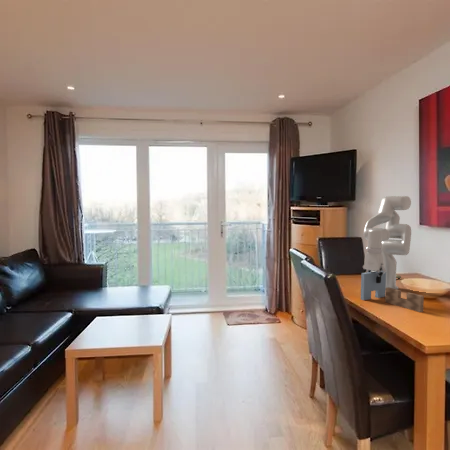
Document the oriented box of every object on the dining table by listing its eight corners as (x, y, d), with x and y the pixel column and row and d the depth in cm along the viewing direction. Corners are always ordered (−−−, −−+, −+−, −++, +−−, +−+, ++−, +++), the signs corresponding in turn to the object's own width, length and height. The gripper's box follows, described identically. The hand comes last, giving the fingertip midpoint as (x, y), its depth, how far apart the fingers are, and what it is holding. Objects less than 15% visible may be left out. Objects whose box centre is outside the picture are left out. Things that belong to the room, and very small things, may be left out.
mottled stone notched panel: (385, 302, 186) (385, 287, 186) (388, 301, 187) (388, 287, 187) (420, 312, 168) (420, 296, 168) (423, 311, 170) (423, 296, 169)
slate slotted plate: (363, 300, 190) (364, 273, 189) (360, 299, 192) (361, 273, 191) (385, 296, 198) (386, 271, 197) (382, 295, 200) (383, 270, 199)
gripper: (357, 249, 199) (357, 279, 200) (383, 253, 184) (382, 285, 185) (366, 248, 203) (365, 278, 204) (392, 252, 187) (391, 284, 188)
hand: (373, 281), depth 194 cm, fingers open, 5 cm apart
